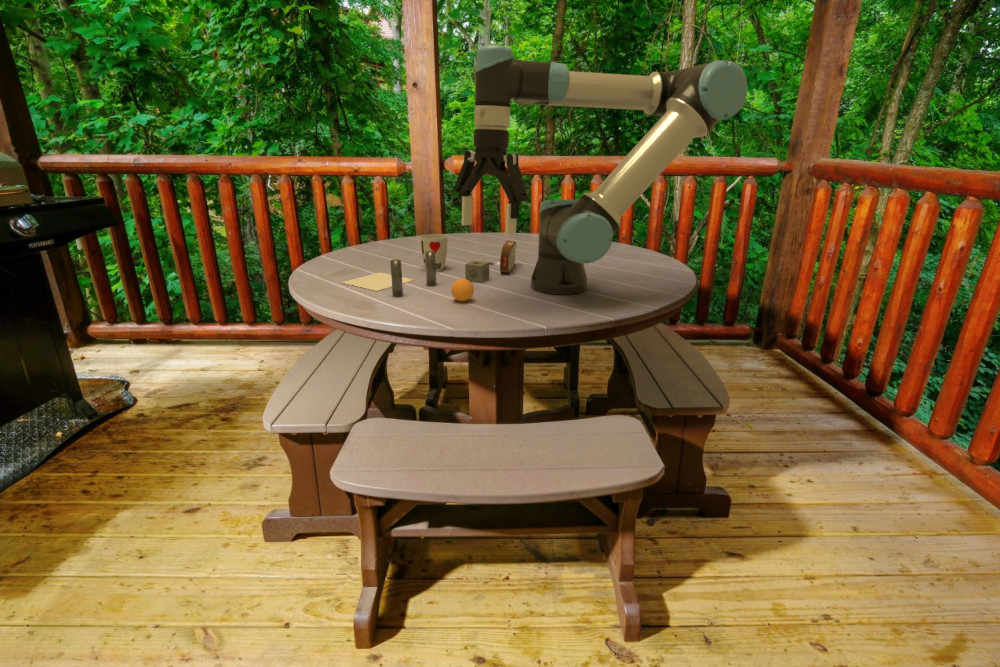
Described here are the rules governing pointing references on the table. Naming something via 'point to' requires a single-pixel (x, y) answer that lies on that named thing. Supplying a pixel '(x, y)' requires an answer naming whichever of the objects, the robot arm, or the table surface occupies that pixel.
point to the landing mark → (375, 281)
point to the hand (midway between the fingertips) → (487, 229)
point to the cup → (435, 248)
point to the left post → (396, 278)
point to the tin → (507, 256)
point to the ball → (462, 290)
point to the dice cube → (477, 271)
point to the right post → (430, 268)
